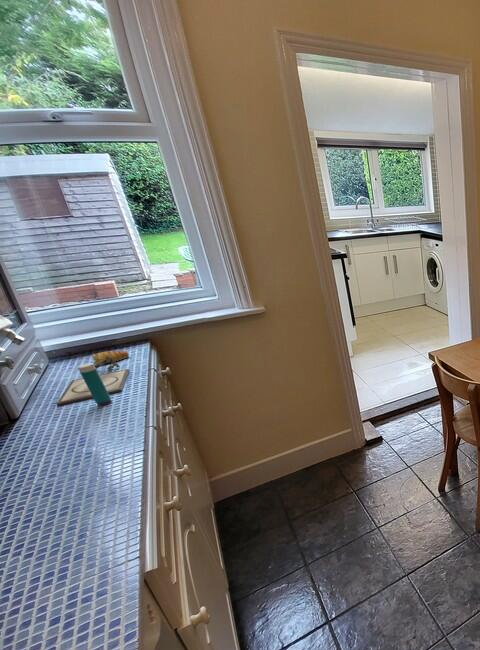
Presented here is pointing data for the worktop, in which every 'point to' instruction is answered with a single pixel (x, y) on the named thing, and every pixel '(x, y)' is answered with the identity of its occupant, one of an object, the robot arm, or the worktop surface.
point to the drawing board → (81, 392)
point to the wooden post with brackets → (108, 362)
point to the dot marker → (94, 384)
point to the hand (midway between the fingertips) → (13, 347)
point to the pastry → (115, 354)
